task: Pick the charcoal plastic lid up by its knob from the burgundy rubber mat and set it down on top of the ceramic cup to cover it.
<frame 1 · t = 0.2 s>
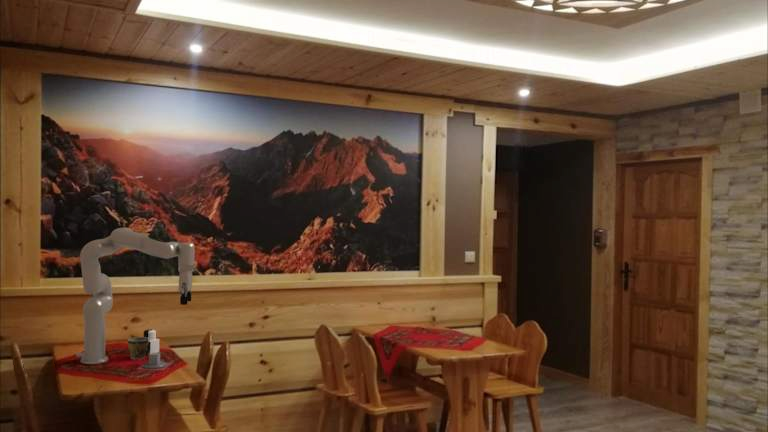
hand: (185, 302, 332), 30 cm above the table, tool pointing down, fingers open, 9 cm apart
lid: (154, 366, 326), resting on mat
mat: (154, 367, 326), on the table
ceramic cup: (137, 359, 339), on the table
medicine bottle: (149, 353, 353), on the table
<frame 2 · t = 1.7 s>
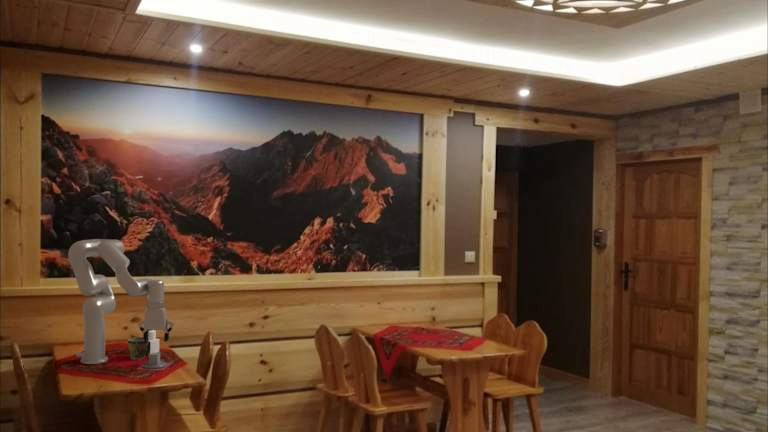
hand: (156, 341, 325), 13 cm above the table, tool pointing down, fingers open, 9 cm apart
nothing on the table moved.
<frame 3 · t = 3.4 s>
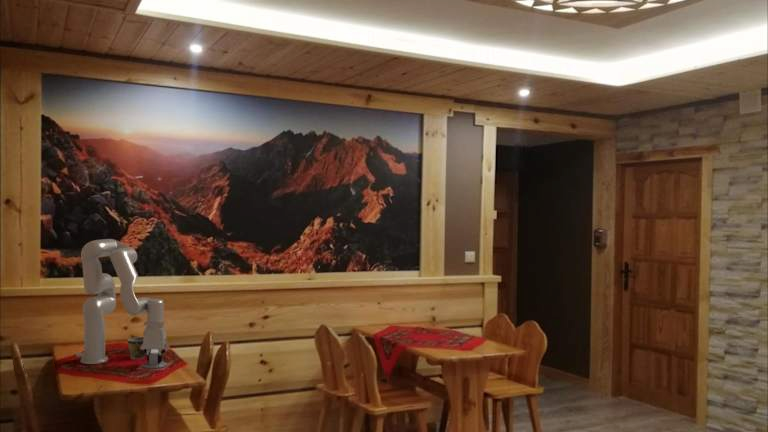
hand: (154, 362, 326), 2 cm above the table, tool pointing down, fingers closed on lid, 4 cm apart
lid: (154, 366, 326), point 1 cm above the table, touching gripper, mat
everything else where it was.
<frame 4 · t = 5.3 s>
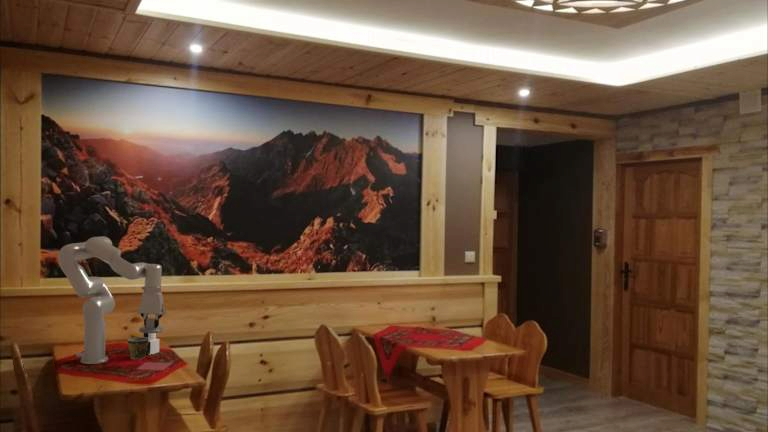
hand: (151, 327, 328), 19 cm above the table, tool pointing down, fingers closed on lid, 4 cm apart
lid: (151, 330, 328), point 17 cm above the table, touching gripper
everything else where it was.
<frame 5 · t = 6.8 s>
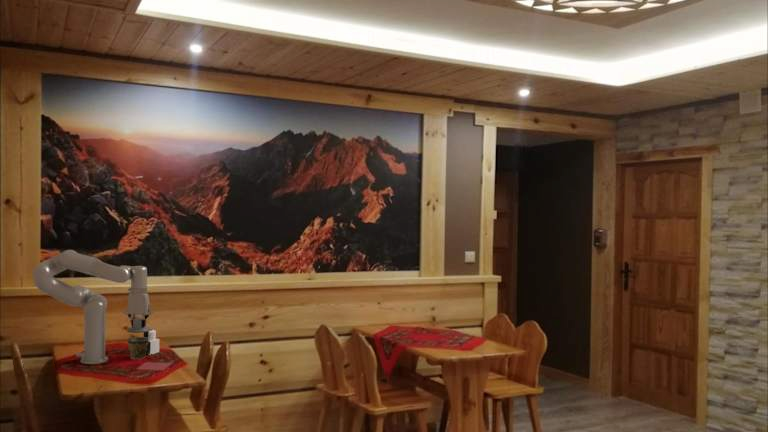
hand: (138, 327, 339), 16 cm above the table, tool pointing down, fingers closed on lid, 4 cm apart
lid: (138, 330, 339), point 15 cm above the table, touching gripper
everything else where it was.
when the fingers open (13 cm above the table, at t = 7.7 s): lid drops 1 cm, resting on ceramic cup.
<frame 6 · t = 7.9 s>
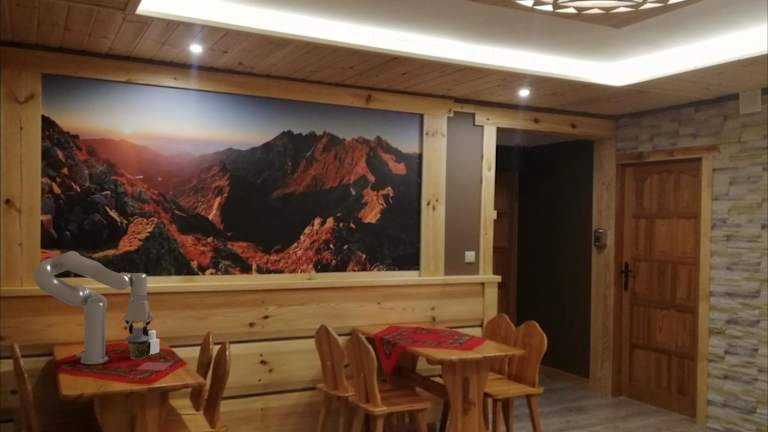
hand: (138, 333, 339), 13 cm above the table, tool pointing down, fingers open, 6 cm apart
lid: (137, 339, 339), point 10 cm above the table, touching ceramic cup
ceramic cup: (137, 359, 339), on the table, touching lid
everything else where it was.
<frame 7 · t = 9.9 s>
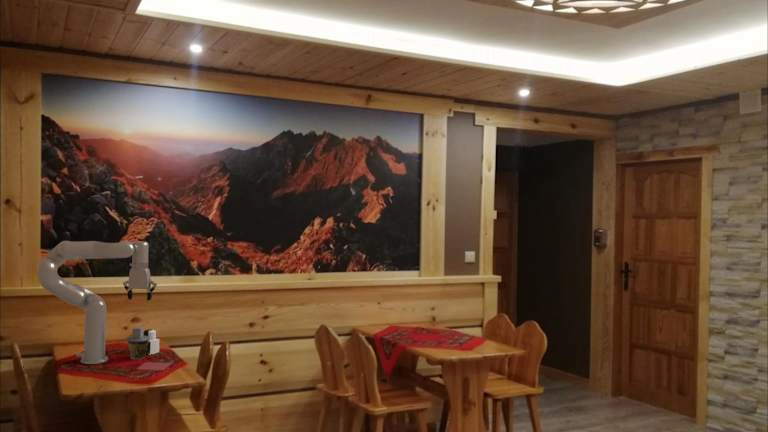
hand: (139, 299, 342), 29 cm above the table, tool pointing down, fingers open, 9 cm apart
nothing on the table moved.
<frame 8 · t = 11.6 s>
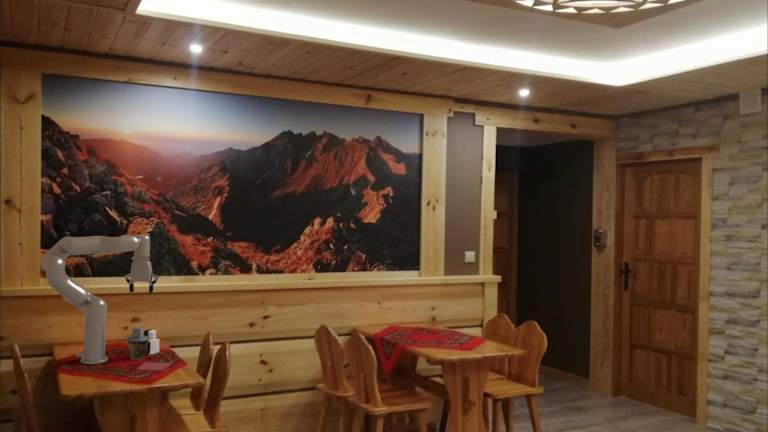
hand: (141, 292, 347), 32 cm above the table, tool pointing down, fingers open, 9 cm apart
nothing on the table moved.
at the end: lid 0.2 cm from the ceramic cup (horizontally); lid point 9.9 cm above the table; lid tilted 0° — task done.
